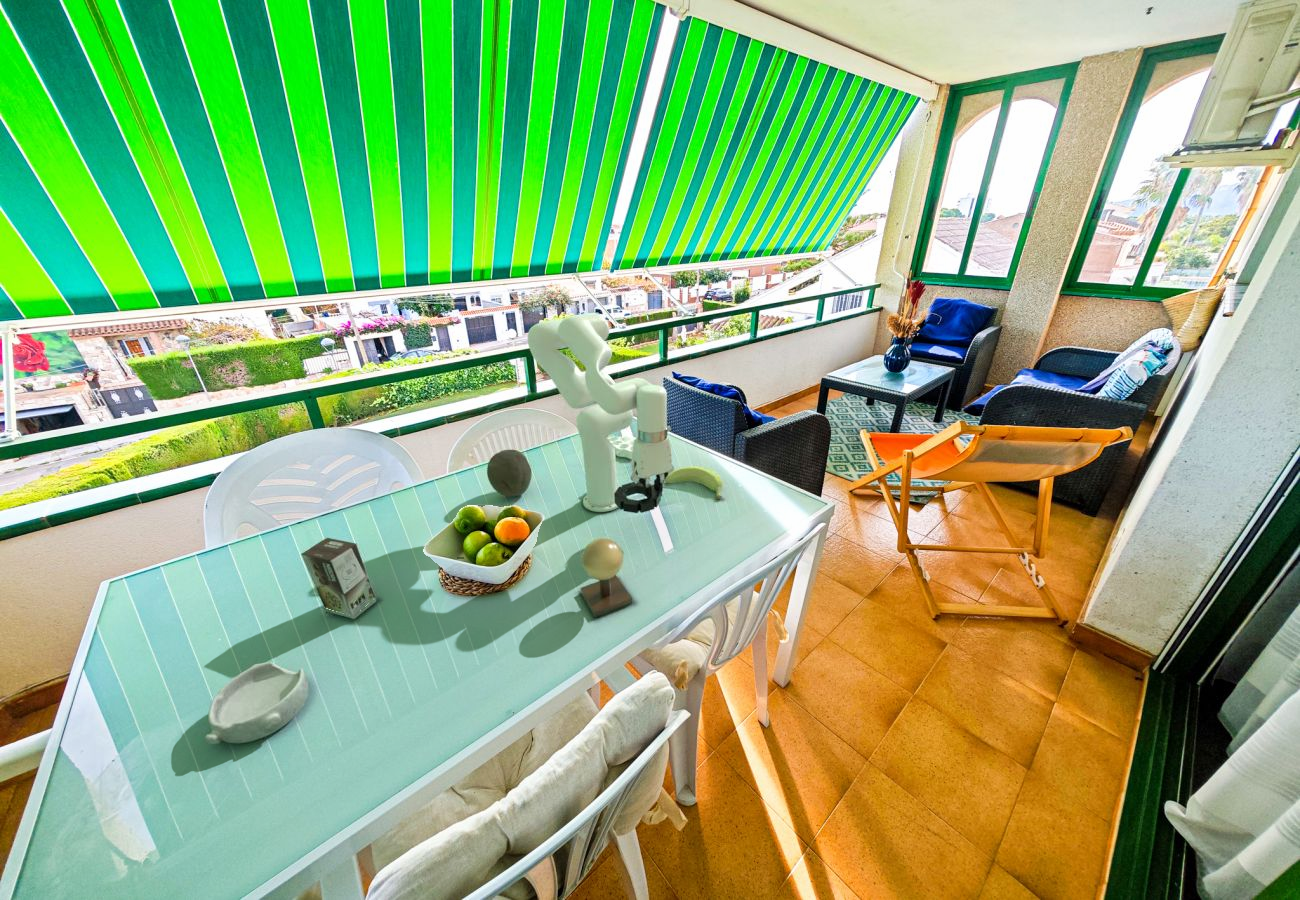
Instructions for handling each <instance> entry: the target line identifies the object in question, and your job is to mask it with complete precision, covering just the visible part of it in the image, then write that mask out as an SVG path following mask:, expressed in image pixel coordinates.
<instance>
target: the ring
mask: <svg viewBox="0 0 1300 900" xmlns="http://www.w3.org/2000/svg"><path fill="white" fill-rule="evenodd" d="M650 486H651V487H652V493H651V494H650V496H649V498H647V497H645V498H643V499H639V500H638V499H631V498H628V496H632V495H636V494H638V495H644V494H643V484H641V483H640V482H634V481H631V482H628V483H624V484H621V486H618V489H617V490H616V492H615V493H614V499H615V504H616V505H617V506H618V509H619V510H623V512H627V513H634V514H638V513H639V512H640V513H641V514H643V513H646V512H649V511H654V510H655V508H658V506H659V504H660V502H661V500H662V496H661V492H660V490H659V489H658V488H657V487H656V486H655V485H654V483H653V484H652V483H651V482H650Z"/></svg>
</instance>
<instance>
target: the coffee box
mask: <svg viewBox="0 0 1300 900" xmlns="http://www.w3.org/2000/svg"><path fill="white" fill-rule="evenodd" d="M300 556H301V558H302V560H303V562H304V565H305V566H306V569H307V571H308V574H309V577H310V578H311V580H312V583H313V585H314V588H315V589H316V592H317V594H318V596H319V598H320V601H321V603H322V606H323V608H324V607H325V608H324V611H326V612H327V613H332V614H335V615H338V616H342V617H345V618H349V619H352V620H355V619H357V618H358V617H359V616H360V615H362V614H363V613H364V612H365V611H367V610H368V609H370V607H371V606H372V605H374V604H375V603H376V602H377V598H376V595H375V593H374V589H373V586H372V584H371V581H370V579H369V576H368V572H367V570H366V567H365V564H364V561H363V558H362V556H361V553H360V550H359V548H358V544H357V543H355V542H352V541H351V542H350V541H346V540H341V539H336V538H331V537H326V538H324V539H323V540H321V541H319V542H317V543H315V544H314V545H313V546H311V547H310V548H309V549H307V550H305V551H304V552H301V554H300ZM374 598H375V599H374ZM373 599H374V600H373ZM372 600H373V601H372ZM371 601H372V602H371ZM368 603H369V604H368ZM367 604H368V605H367ZM366 605H367V606H366ZM365 606H366V607H365ZM326 608H328V609H326ZM329 609H331V610H329ZM332 610H334V611H332ZM360 610H361V611H360ZM336 611H338V612H336ZM339 612H341V613H339ZM342 613H344V614H342ZM346 614H347V615H346ZM349 615H350V616H349Z"/></svg>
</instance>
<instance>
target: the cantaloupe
mask: <svg viewBox="0 0 1300 900" xmlns="http://www.w3.org/2000/svg"><path fill="white" fill-rule="evenodd" d="M532 474H533V473H532V467H531V465H530V463H529V461H528V458H527V457H526V455H525V454H524V453H523V452H521V451H519V450H517V449H503V450H500V451H499V452H496V453H495V454H493V455H492V457H491V458H490V459H489V461H488V463H487V468H486V475H487V479H488V482H489V484H490V486H491V487H492V489H493V490H494V491H495V492H497V494H499V495H501V496H503V497H506V496H507V498H514V497H518V496H522V495H523V494H525V493H526V492H527V490H528V488H529V486H530V484H531V481H532Z"/></svg>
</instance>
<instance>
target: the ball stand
mask: <svg viewBox="0 0 1300 900" xmlns="http://www.w3.org/2000/svg"><path fill="white" fill-rule="evenodd" d="M581 564H582V567H583V570H584V571H585V573H586V574H587V575H588V576H589V577H590V578H592V579H594V580H597V581H595V582H593V583H590V584H587V585H585V586H582V587H580V588H579V589H580V594H581V595H582V597H583V599H584V601H585V603H586V604H587V606H588V608H589V610H590V611H591V612H592V615H593V617H594V618H595V619H596V618H599V617H601V616H603V615H606V614H608V613H611V612H615V611H617V610H618V609H621V608H624V607H626V606H629V605H631V604H633V597H632V596H631V594H630V593H629V592H628V590H627V589H626V587H625V586H624V585H623V583H622V582H621V580H620V579H619V578H618V576H617V575H618V573H619V572H620V571H621V569H622V568H623V564H624V553H623V550H622V548H621V547H620V546H619V544H618V543H617V542H616V541H615V540H613V539H610V538H606V537H599V538H596V539H594V540H592V541H590V542H589V543H588V544H587V545H586V546H585V547H584V550H583V552H582V555H581Z"/></svg>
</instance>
